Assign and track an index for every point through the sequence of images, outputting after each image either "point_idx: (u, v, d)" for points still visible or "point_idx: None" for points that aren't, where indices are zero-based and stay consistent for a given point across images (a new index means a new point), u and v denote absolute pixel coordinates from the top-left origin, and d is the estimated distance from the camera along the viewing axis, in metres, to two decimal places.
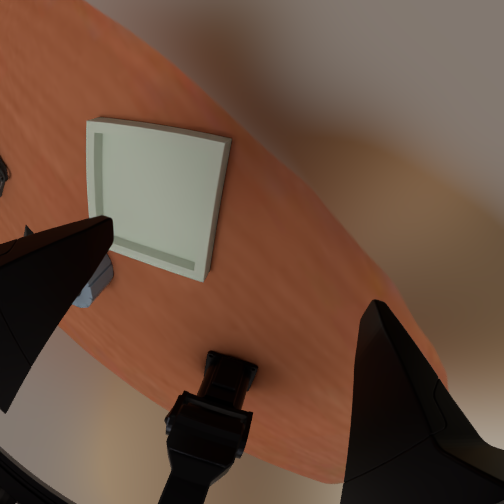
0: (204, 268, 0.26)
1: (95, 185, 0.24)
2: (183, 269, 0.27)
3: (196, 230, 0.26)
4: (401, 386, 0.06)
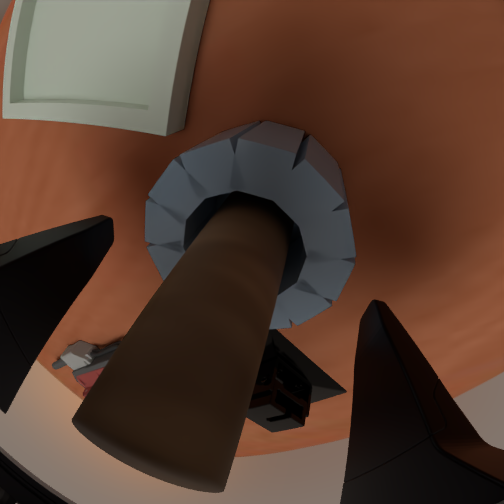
0: None
1: (60, 103, 0.11)
2: None
3: None
4: (401, 386, 0.06)
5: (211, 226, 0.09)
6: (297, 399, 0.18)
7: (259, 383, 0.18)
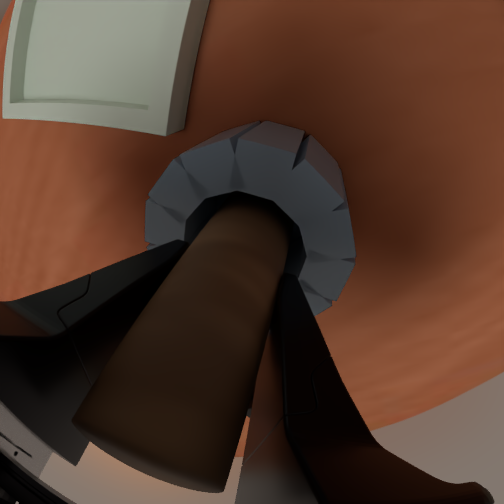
0: None
1: (60, 103, 0.11)
2: None
3: None
4: (278, 358, 0.06)
5: (211, 226, 0.09)
6: None
7: None
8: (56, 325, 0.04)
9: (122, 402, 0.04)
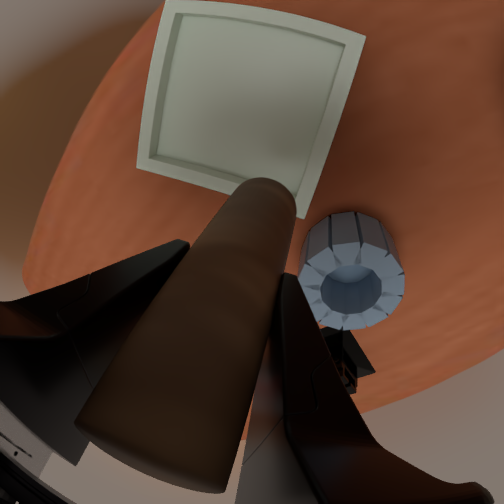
0: (339, 28, 0.13)
1: (214, 175, 0.20)
2: (345, 59, 0.14)
3: (288, 38, 0.15)
4: (278, 358, 0.06)
5: (212, 228, 0.09)
6: (352, 374, 0.27)
7: None
8: (56, 326, 0.04)
9: (124, 404, 0.04)
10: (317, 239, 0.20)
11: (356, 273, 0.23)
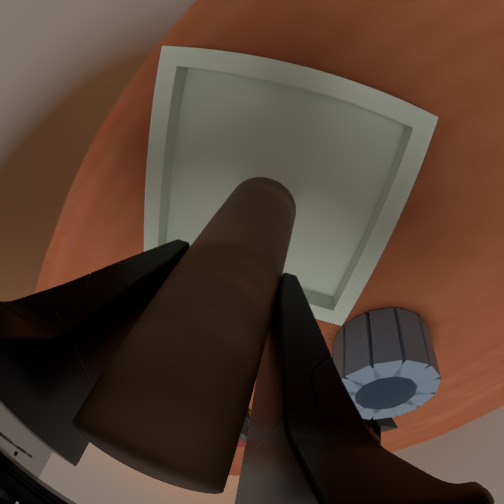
0: (406, 103, 0.10)
1: None
2: (410, 150, 0.11)
3: (335, 109, 0.12)
4: (278, 358, 0.06)
5: (211, 228, 0.09)
6: (377, 437, 0.24)
7: None
8: (56, 326, 0.04)
9: (122, 404, 0.04)
10: (355, 346, 0.17)
11: None
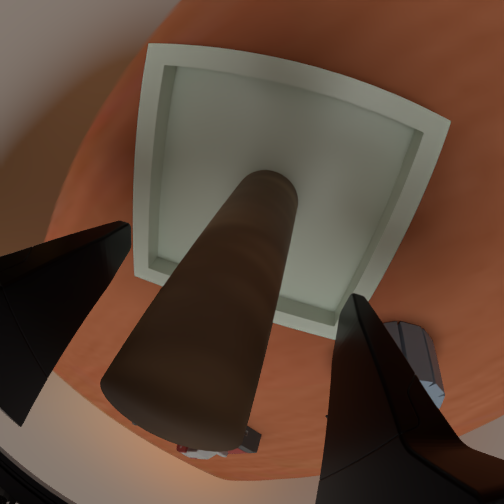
0: (417, 106, 0.09)
1: None
2: (420, 157, 0.10)
3: (338, 111, 0.11)
4: (373, 381, 0.06)
5: (223, 213, 0.10)
6: None
7: None
8: None
9: (154, 354, 0.05)
10: None
11: None
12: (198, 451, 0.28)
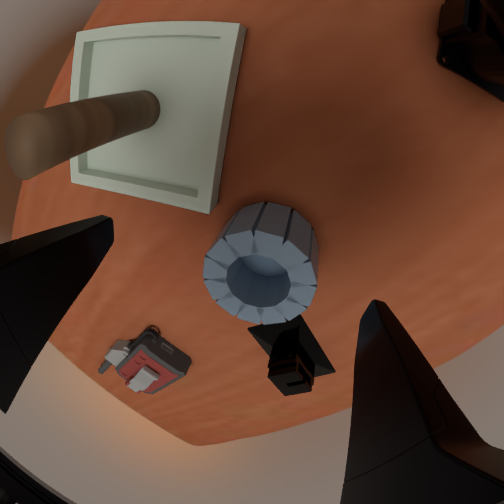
0: (213, 22, 0.14)
1: (128, 182, 0.21)
2: (221, 51, 0.14)
3: (176, 44, 0.16)
4: (401, 386, 0.06)
5: None
6: (308, 371, 0.26)
7: (285, 357, 0.26)
8: None
9: (23, 115, 0.09)
10: (221, 232, 0.20)
11: (278, 266, 0.23)
12: (135, 377, 0.32)
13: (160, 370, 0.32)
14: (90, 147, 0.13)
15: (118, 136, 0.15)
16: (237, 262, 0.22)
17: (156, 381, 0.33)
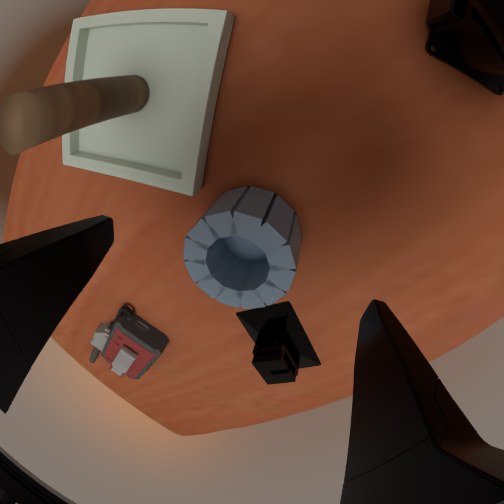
0: (202, 10, 0.13)
1: (116, 164, 0.20)
2: (208, 37, 0.14)
3: (166, 31, 0.15)
4: (401, 386, 0.06)
5: None
6: (293, 361, 0.26)
7: (271, 344, 0.26)
8: None
9: None
10: None
11: (260, 251, 0.23)
12: (116, 358, 0.32)
13: (137, 349, 0.31)
14: (77, 126, 0.13)
15: (106, 117, 0.15)
16: (219, 245, 0.22)
17: (137, 363, 0.33)
